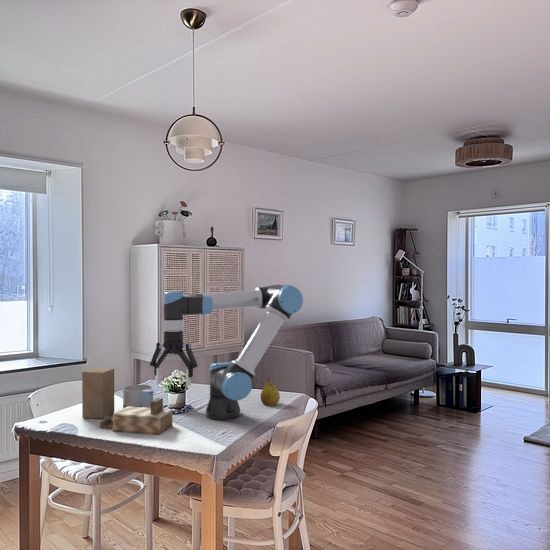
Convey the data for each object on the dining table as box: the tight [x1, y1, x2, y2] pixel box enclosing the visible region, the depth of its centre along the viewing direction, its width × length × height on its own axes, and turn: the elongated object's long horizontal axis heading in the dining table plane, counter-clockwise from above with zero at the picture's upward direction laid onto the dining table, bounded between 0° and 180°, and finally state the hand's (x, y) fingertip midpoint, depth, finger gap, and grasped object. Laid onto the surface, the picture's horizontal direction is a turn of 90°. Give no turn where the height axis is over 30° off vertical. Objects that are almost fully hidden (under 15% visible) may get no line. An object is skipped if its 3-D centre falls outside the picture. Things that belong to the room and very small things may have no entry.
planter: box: [122, 384, 153, 409], centre depth 237 cm, size 13×13×10 cm
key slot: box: [99, 416, 113, 430], centre depth 213 cm, size 7×7×2 cm
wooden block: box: [81, 367, 115, 420], centre depth 229 cm, size 10×10×20 cm
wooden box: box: [112, 411, 173, 436], centre depth 210 cm, size 20×12×6 cm, turn 77°
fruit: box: [260, 377, 281, 407], centre depth 248 cm, size 9×9×12 cm
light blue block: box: [141, 389, 155, 408], centre depth 225 cm, size 5×3×12 cm, turn 77°
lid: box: [112, 397, 173, 419], centre depth 210 cm, size 20×11×6 cm, turn 77°
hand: (173, 384), depth 207 cm, fingers open, 12 cm apart
